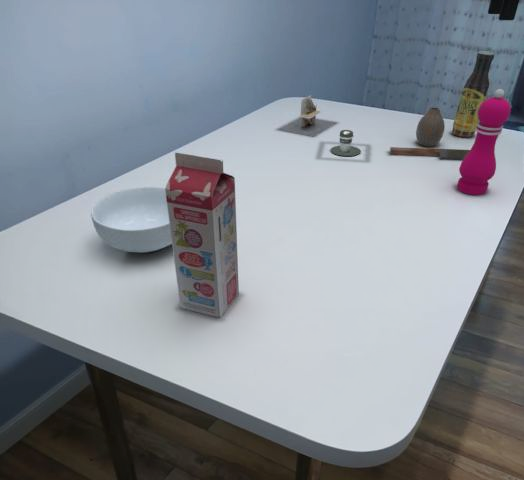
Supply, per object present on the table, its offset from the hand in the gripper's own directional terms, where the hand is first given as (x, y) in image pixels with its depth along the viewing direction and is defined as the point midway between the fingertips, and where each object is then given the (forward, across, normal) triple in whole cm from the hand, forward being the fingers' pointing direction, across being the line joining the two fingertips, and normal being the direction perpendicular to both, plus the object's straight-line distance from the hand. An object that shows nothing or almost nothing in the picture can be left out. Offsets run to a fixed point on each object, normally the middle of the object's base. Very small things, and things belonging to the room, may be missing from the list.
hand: (500, 16), depth 111 cm
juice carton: (+28, -77, +54) cm, 98 cm away
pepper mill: (+28, -29, +5) cm, 41 cm away
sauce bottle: (+28, +9, -1) cm, 30 cm away
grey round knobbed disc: (+28, -8, +32) cm, 44 cm away
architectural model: (+28, +12, +42) cm, 52 cm away
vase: (+28, 0, +10) cm, 30 cm away
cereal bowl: (+28, -60, +69) cm, 96 cm away
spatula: (+28, -8, +10) cm, 31 cm away
